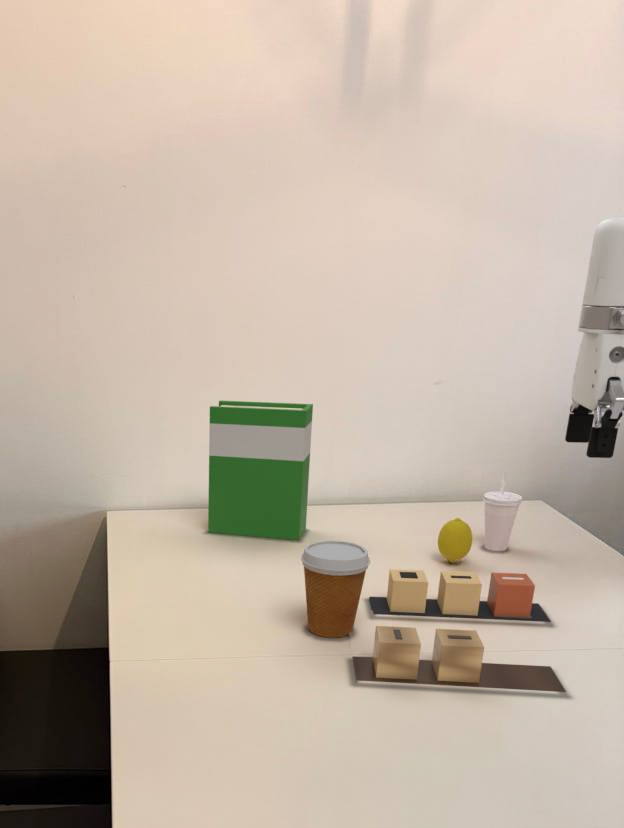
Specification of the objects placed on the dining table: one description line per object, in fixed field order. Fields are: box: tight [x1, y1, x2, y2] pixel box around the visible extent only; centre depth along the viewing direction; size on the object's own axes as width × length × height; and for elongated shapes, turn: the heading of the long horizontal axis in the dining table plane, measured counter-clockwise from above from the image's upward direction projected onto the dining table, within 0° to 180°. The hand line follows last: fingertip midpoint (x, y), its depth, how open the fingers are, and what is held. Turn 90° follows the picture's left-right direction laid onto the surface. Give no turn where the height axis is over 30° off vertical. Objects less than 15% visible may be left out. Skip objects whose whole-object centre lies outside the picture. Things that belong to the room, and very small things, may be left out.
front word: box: [352, 625, 567, 693], centre depth 110 cm, size 25×7×6 cm, turn 81°
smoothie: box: [482, 470, 523, 552], centre depth 154 cm, size 6×6×14 cm
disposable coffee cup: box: [300, 540, 371, 639], centre depth 122 cm, size 10×10×12 cm
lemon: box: [437, 517, 473, 564], centre depth 148 cm, size 6×6×8 cm
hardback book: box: [207, 400, 314, 541], centre depth 164 cm, size 18×7×24 cm, turn 71°
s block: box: [486, 572, 536, 618], centre depth 128 cm, size 5×5×5 cm
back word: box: [368, 568, 552, 623], centre depth 129 cm, size 25×7×6 cm, turn 81°
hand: (587, 449), depth 120 cm, fingers open, 9 cm apart
